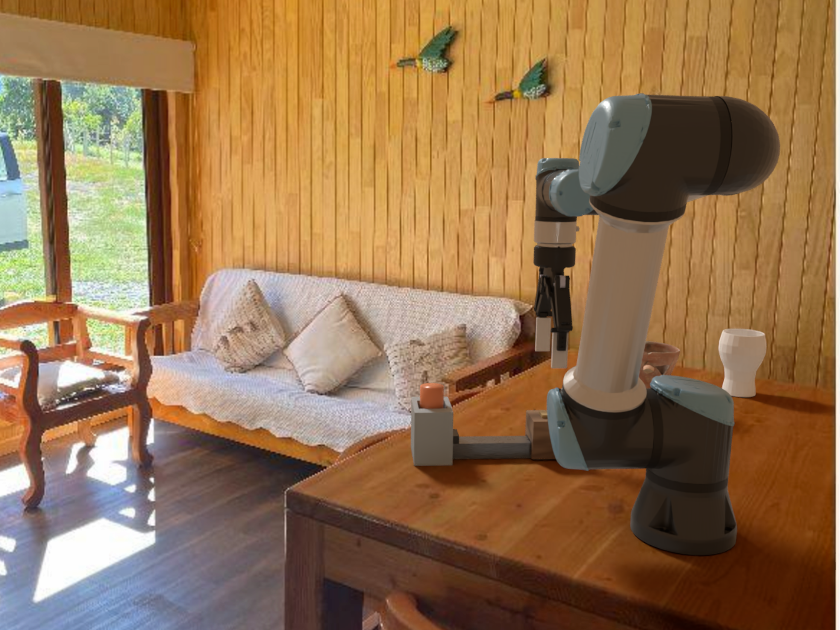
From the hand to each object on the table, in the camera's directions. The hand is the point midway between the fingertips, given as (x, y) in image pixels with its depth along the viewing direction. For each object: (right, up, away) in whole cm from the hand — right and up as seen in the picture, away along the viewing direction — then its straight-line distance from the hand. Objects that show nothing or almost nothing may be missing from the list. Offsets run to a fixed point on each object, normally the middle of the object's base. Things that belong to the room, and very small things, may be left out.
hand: (550, 359), depth 152 cm
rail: (-7, -18, +3) cm, 20 cm away
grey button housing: (-22, -18, +2) cm, 29 cm away
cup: (+53, -11, +46) cm, 71 cm away
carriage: (0, -18, +3) cm, 18 cm away
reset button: (-22, -11, 0) cm, 25 cm away
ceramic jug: (+28, -13, +35) cm, 46 cm away
